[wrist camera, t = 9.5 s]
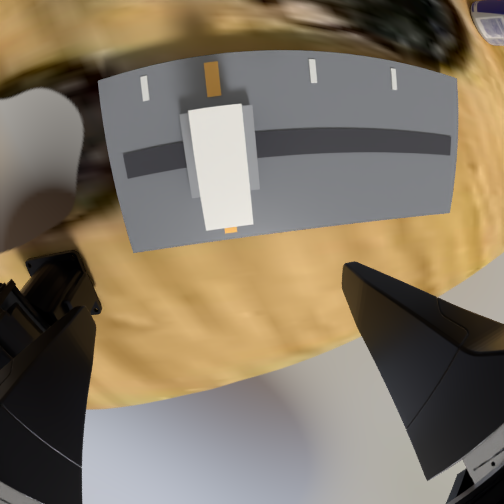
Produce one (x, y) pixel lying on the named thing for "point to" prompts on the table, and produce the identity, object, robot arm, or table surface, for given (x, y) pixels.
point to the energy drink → (489, 20)
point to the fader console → (284, 141)
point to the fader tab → (222, 162)
